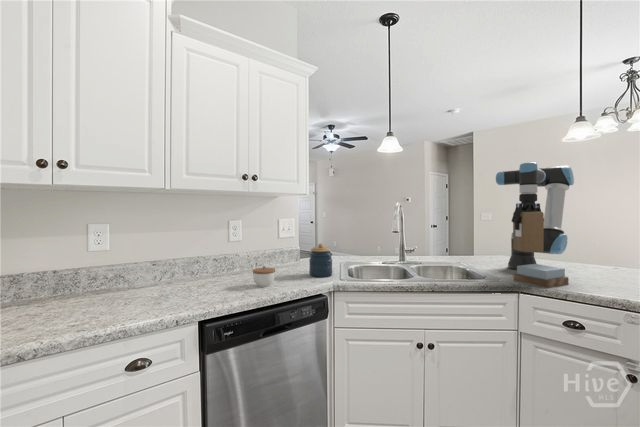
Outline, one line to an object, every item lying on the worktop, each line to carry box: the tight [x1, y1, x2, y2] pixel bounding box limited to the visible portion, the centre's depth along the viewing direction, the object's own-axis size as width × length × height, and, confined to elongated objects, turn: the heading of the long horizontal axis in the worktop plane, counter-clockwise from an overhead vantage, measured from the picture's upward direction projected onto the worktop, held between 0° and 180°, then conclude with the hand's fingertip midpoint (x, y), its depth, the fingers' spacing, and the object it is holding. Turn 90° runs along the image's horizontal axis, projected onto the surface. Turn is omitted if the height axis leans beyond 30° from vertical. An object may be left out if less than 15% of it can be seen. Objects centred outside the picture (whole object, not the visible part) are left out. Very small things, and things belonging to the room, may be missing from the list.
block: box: [512, 211, 545, 253], centre depth 155 cm, size 10×10×20 cm
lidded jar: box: [252, 265, 276, 288], centre depth 148 cm, size 11×11×9 cm
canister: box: [308, 243, 333, 278], centre depth 171 cm, size 13×13×18 cm
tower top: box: [516, 263, 566, 280], centre depth 152 cm, size 14×14×4 cm
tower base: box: [513, 272, 569, 288], centre depth 152 cm, size 16×16×4 cm
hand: (528, 236), depth 155 cm, fingers closed on block, 12 cm apart
